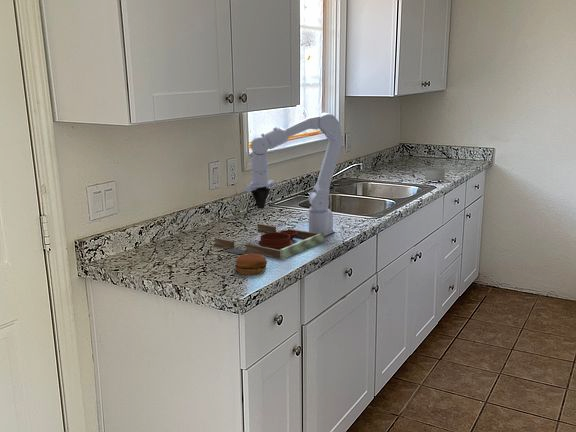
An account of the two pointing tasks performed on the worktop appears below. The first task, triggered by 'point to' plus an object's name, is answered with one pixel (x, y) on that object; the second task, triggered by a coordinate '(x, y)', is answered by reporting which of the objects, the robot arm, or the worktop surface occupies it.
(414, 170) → the worktop surface
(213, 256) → the worktop surface
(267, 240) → the pottery
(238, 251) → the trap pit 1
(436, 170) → the teacup
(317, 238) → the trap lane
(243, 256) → the burger
